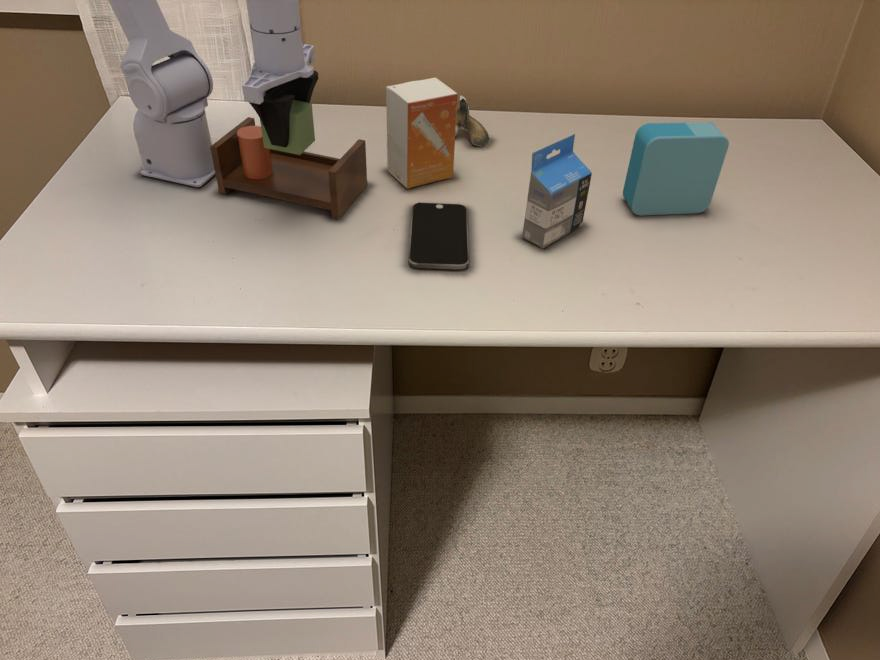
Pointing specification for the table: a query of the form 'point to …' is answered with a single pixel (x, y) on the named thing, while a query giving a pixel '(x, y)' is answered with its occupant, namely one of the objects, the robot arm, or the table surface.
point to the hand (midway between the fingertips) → (288, 136)
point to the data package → (674, 168)
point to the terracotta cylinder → (254, 153)
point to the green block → (296, 129)
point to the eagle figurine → (470, 125)
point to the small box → (420, 131)
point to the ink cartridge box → (555, 194)
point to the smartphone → (439, 236)
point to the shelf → (295, 174)
